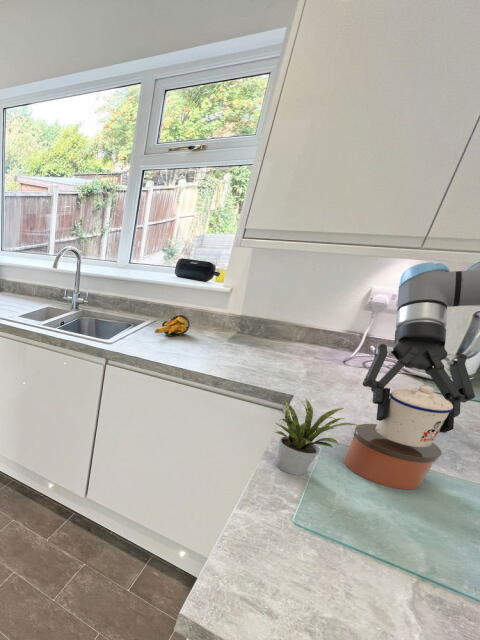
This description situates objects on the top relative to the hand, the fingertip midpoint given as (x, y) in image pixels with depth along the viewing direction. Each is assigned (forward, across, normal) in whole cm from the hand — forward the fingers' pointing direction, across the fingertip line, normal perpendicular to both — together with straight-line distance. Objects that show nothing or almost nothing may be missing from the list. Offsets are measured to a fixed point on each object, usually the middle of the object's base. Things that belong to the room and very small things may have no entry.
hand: (413, 424), depth 84 cm
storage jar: (+7, 0, -12) cm, 14 cm away
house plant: (+14, +16, -6) cm, 22 cm away
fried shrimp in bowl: (-50, +51, -70) cm, 100 cm away
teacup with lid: (+1, -1, -5) cm, 5 cm away
